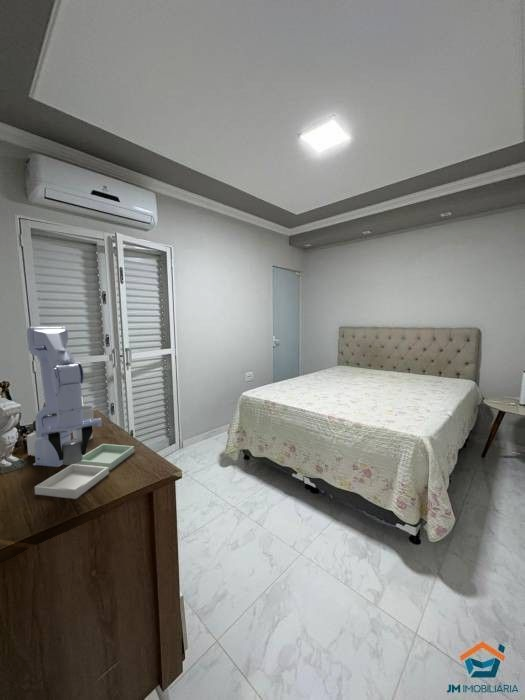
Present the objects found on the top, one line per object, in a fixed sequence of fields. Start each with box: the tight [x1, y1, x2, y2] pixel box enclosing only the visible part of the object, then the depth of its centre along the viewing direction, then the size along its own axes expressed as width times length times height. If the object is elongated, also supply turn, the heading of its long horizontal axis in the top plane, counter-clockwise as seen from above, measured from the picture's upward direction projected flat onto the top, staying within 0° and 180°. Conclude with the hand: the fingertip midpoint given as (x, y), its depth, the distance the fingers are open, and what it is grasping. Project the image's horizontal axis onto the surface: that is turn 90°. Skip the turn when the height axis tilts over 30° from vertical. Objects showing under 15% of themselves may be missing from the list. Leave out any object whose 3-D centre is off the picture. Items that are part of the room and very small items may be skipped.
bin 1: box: [34, 464, 110, 500], centre depth 77 cm, size 12×12×3 cm
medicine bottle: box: [26, 419, 37, 457], centre depth 96 cm, size 7×7×12 cm
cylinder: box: [62, 439, 83, 466], centre depth 76 cm, size 5×5×5 cm
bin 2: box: [75, 443, 135, 471], centre depth 91 cm, size 12×12×3 cm
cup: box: [72, 405, 95, 441], centre depth 107 cm, size 8×8×12 cm
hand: (72, 456), depth 76 cm, fingers closed on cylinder, 5 cm apart
